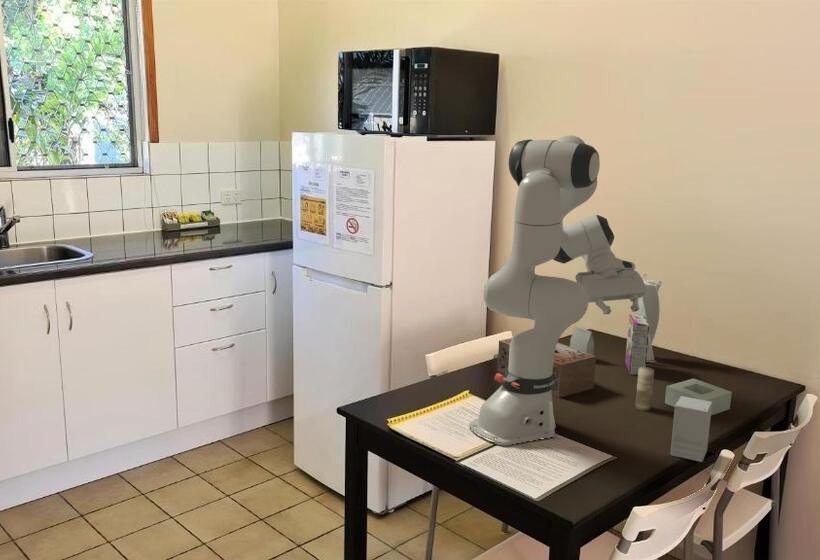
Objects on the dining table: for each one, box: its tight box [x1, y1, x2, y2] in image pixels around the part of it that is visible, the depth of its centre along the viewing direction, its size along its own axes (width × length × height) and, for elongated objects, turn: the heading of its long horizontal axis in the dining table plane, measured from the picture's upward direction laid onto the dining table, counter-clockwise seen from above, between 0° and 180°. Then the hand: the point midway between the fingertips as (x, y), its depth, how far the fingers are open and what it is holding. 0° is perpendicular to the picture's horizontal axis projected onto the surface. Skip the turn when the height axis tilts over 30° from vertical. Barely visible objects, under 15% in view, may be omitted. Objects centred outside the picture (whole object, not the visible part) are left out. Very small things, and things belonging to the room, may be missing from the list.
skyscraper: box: [635, 273, 662, 363], centre depth 239 cm, size 8×8×28 cm
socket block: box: [664, 378, 733, 416], centre depth 202 cm, size 12×12×5 cm
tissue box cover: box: [496, 337, 597, 399], centre depth 219 cm, size 26×14×10 cm, turn 35°
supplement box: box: [670, 396, 712, 463], centre depth 173 cm, size 7×7×13 cm
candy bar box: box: [624, 313, 649, 376], centre depth 229 cm, size 11×5×16 cm, turn 171°
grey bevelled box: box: [569, 326, 595, 355], centre depth 239 cm, size 4×7×10 cm, turn 38°
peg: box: [634, 366, 655, 412], centre depth 199 cm, size 4×4×11 cm
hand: (622, 311), depth 207 cm, fingers open, 8 cm apart
